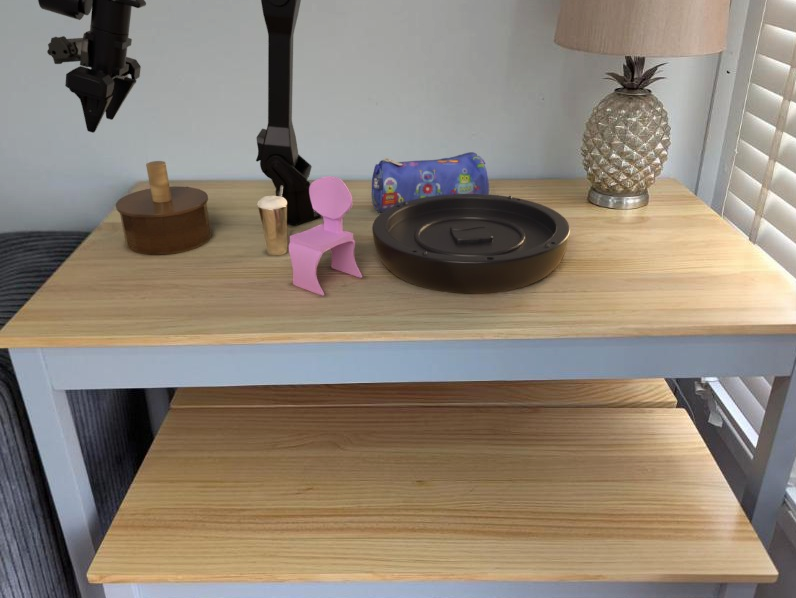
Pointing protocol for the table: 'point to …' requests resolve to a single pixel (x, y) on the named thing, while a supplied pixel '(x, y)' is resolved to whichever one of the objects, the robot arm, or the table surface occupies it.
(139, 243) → the bowl
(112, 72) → the robot arm
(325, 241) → the toy chair
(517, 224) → the round tray
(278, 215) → the milkshake
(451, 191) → the pencil case
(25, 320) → the table surface
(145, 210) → the lid
